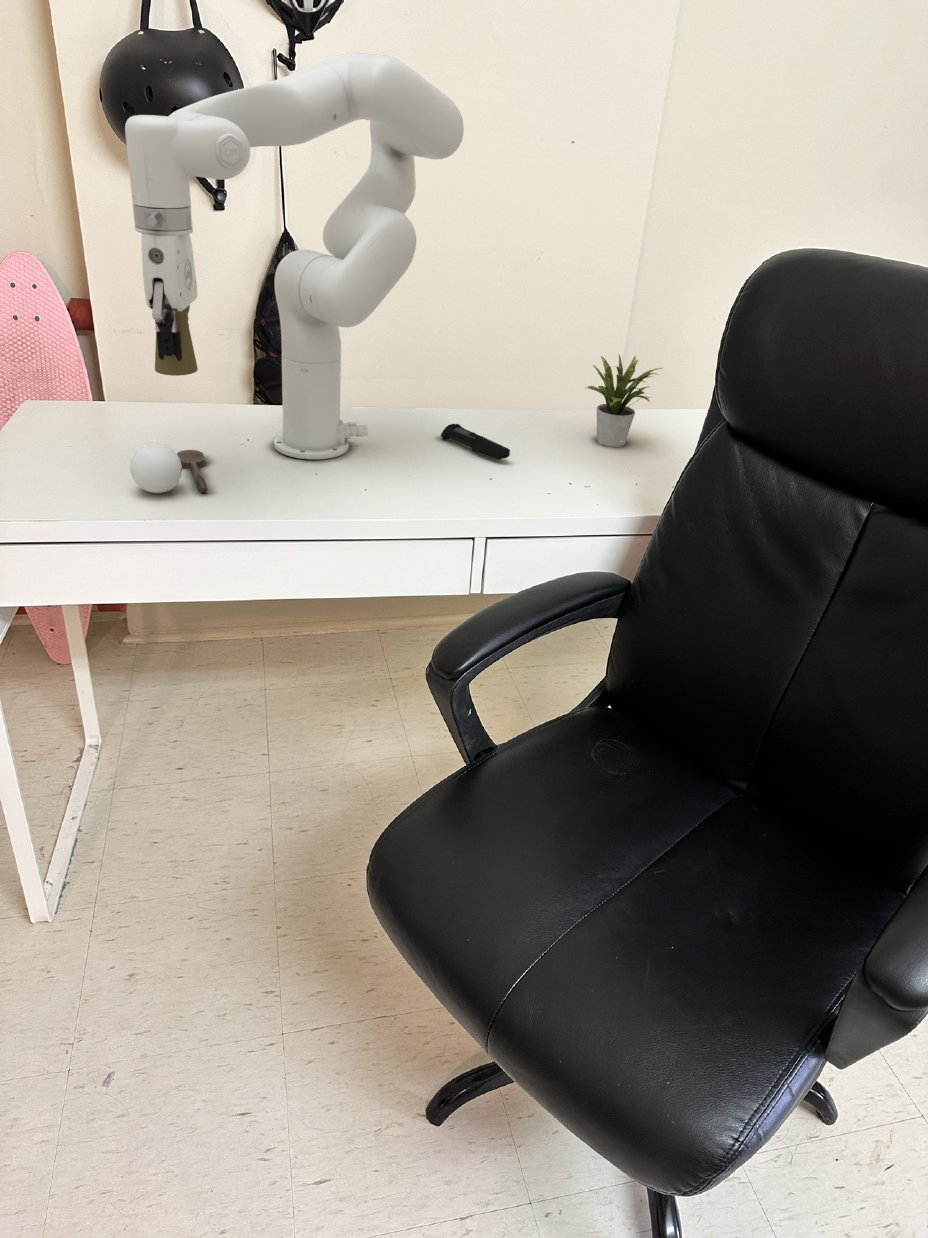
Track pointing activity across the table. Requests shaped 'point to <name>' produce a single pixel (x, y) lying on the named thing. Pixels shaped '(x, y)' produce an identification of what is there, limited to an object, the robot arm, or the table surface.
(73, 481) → the table surface
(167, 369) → the cork
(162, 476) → the white ovoid
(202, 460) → the wooden spoon
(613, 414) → the house plant
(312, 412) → the robot arm
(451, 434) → the electric trimmer
